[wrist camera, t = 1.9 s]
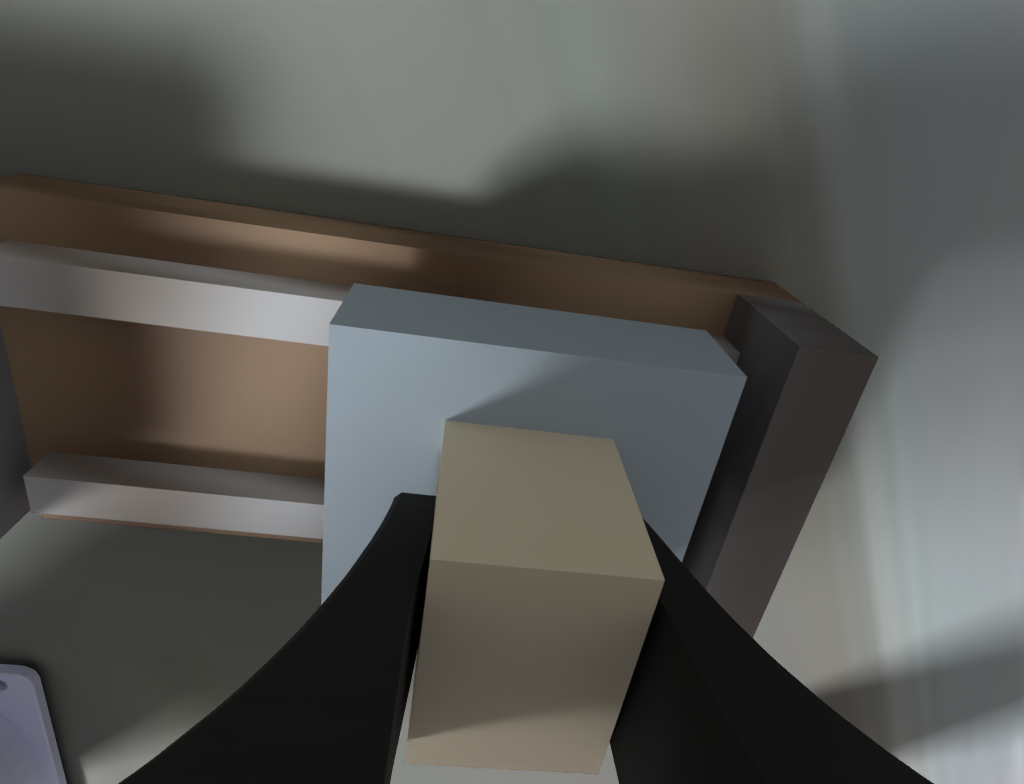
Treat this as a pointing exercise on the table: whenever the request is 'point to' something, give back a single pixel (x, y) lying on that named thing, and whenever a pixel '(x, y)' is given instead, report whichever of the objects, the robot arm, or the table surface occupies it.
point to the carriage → (521, 503)
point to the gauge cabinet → (11, 450)
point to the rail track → (304, 364)
